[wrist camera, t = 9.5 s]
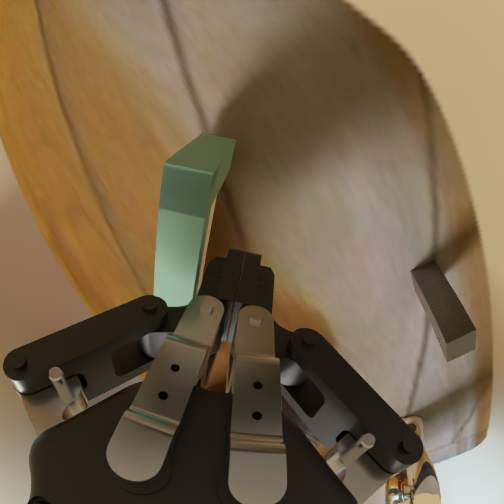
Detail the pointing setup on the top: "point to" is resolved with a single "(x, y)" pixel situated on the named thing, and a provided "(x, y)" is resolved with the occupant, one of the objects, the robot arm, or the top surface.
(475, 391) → the top surface
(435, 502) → the beer glass
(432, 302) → the gate posts
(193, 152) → the gate
